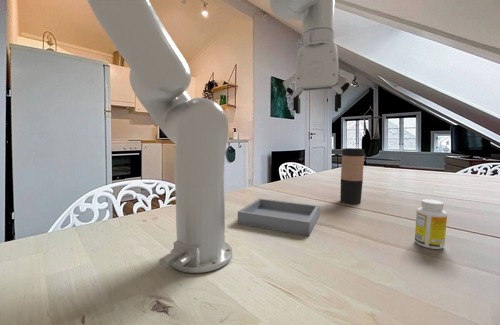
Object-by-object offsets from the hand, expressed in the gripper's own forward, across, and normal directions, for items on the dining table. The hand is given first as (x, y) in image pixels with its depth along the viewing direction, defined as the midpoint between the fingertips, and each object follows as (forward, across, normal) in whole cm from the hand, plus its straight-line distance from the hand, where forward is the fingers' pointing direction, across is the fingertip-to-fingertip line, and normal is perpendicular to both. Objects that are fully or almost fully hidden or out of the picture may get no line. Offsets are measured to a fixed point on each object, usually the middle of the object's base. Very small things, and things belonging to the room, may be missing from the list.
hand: (316, 112), depth 63 cm
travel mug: (+32, +9, +32) cm, 46 cm away
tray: (+31, -10, +2) cm, 32 cm away
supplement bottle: (+32, +26, -1) cm, 41 cm away
